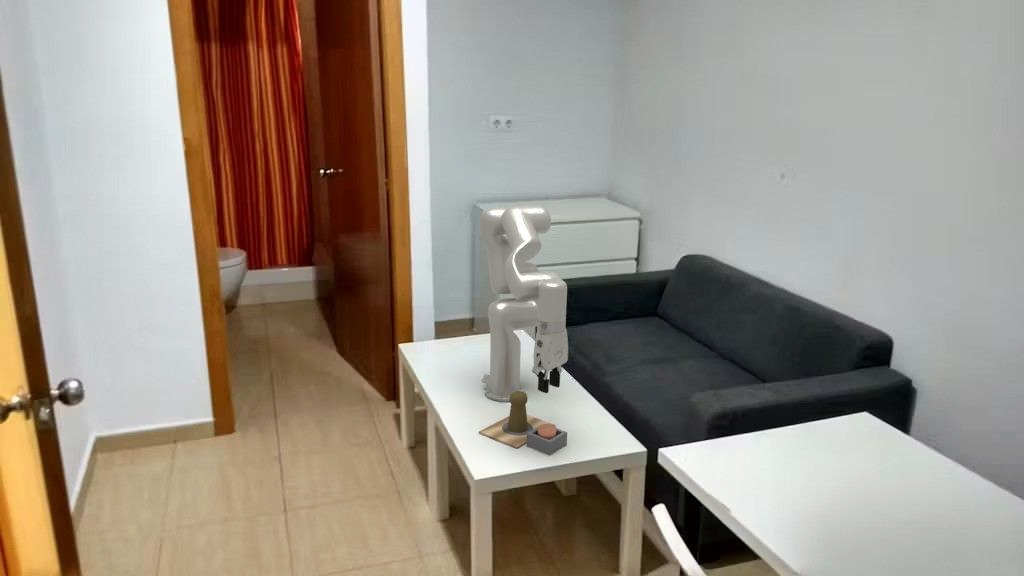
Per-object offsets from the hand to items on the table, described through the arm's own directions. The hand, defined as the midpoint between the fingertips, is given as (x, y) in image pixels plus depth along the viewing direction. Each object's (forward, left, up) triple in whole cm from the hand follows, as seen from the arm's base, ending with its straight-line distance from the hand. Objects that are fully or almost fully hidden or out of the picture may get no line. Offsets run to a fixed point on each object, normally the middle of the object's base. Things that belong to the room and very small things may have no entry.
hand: (548, 388), depth 213 cm
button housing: (0, 0, -17) cm, 17 cm away
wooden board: (-12, +2, -17) cm, 21 cm away
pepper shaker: (-12, +2, -17) cm, 21 cm away
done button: (0, 0, -15) cm, 15 cm away
